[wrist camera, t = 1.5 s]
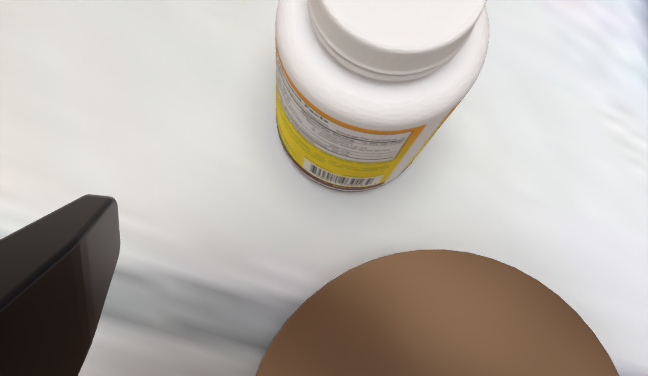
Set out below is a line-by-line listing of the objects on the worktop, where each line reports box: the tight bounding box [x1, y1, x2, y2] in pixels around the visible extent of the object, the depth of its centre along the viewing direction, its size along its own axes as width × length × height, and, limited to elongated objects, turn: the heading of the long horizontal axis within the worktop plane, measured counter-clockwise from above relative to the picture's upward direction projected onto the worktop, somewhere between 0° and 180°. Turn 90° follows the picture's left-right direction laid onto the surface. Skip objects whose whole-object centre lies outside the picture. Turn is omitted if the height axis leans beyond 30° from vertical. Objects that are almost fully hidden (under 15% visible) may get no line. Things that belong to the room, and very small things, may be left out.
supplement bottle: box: [276, 0, 489, 191], centre depth 18 cm, size 6×6×10 cm
